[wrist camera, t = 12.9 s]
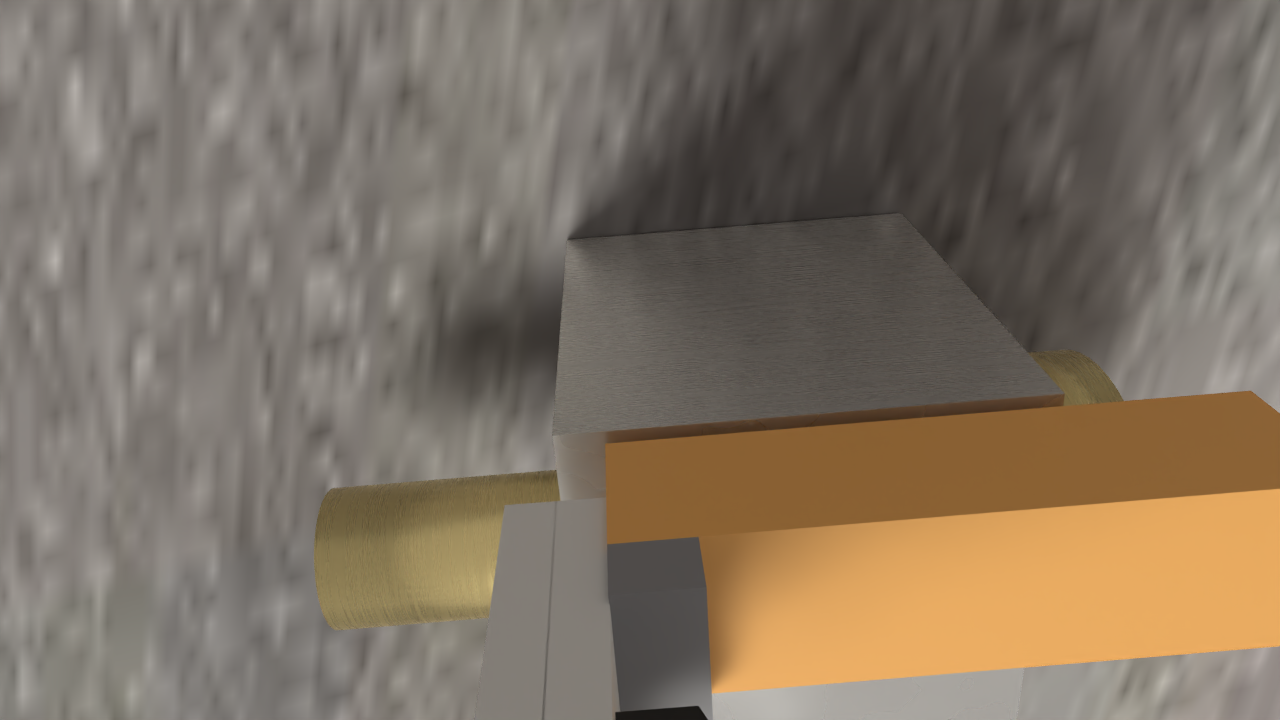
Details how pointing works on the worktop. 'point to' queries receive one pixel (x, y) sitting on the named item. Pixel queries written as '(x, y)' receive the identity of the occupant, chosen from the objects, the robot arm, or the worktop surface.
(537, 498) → the pin
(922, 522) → the bar
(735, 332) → the block
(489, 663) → the robot arm
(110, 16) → the worktop surface
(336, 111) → the worktop surface
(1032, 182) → the worktop surface
